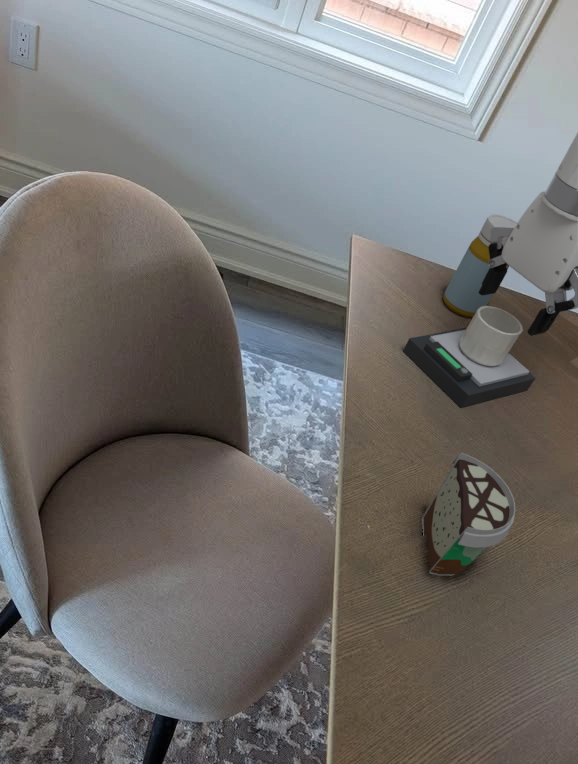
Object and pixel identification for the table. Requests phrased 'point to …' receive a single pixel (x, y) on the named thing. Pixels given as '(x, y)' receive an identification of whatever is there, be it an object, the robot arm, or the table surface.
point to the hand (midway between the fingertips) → (510, 312)
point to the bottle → (474, 271)
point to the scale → (465, 369)
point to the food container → (466, 515)
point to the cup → (490, 336)
